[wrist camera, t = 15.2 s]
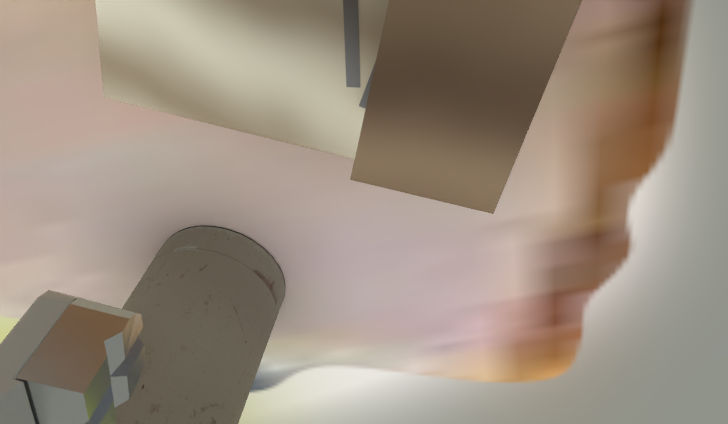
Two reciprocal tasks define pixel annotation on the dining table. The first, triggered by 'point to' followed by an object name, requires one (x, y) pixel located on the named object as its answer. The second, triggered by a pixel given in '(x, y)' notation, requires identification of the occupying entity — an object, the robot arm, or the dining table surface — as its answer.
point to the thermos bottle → (202, 327)
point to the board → (247, 64)
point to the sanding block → (457, 94)
